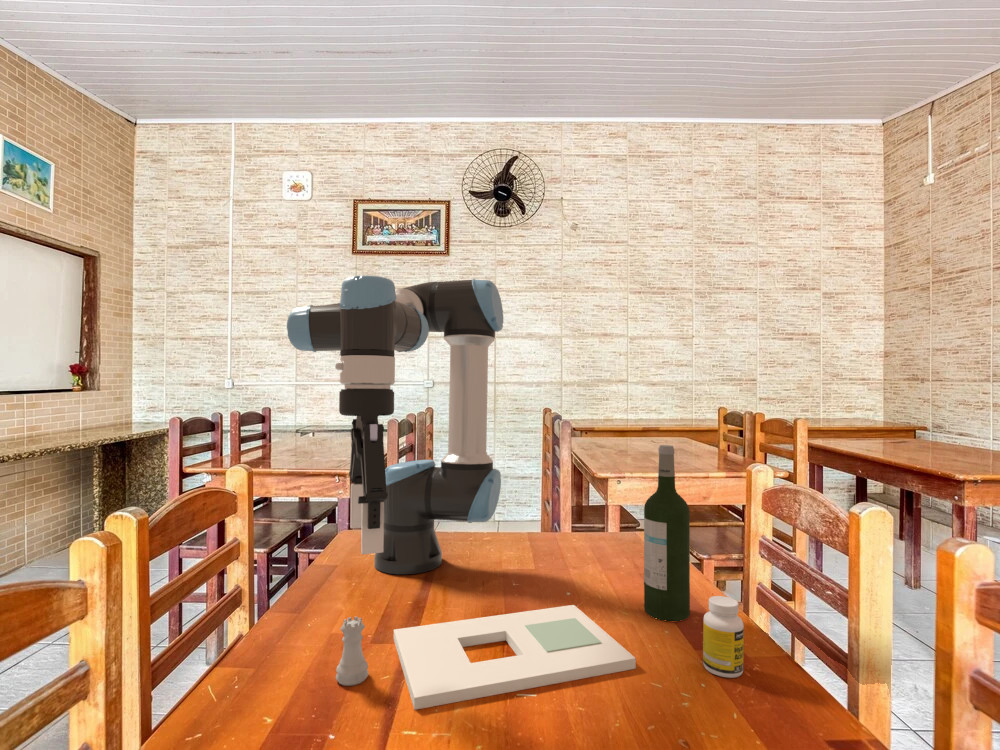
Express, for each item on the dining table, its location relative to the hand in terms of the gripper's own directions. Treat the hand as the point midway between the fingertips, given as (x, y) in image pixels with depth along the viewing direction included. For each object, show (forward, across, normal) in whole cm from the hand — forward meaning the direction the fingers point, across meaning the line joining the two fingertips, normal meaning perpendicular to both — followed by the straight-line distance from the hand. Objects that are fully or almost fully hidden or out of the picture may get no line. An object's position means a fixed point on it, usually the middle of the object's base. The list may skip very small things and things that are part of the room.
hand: (365, 539), depth 76 cm
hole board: (+19, 0, +21) cm, 29 cm away
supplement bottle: (+19, +16, +49) cm, 55 cm away
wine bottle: (+19, -3, +54) cm, 57 cm away
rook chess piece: (+19, 0, -2) cm, 19 cm away
